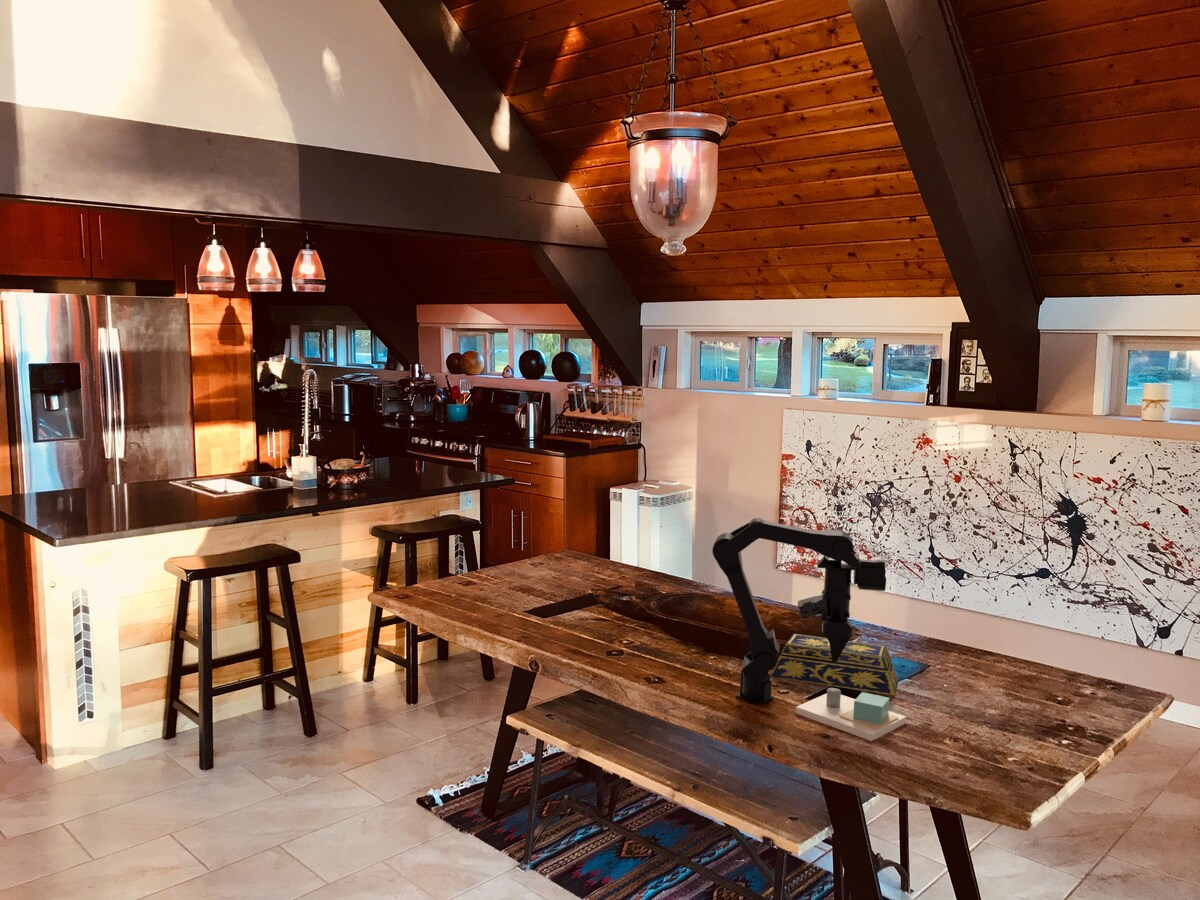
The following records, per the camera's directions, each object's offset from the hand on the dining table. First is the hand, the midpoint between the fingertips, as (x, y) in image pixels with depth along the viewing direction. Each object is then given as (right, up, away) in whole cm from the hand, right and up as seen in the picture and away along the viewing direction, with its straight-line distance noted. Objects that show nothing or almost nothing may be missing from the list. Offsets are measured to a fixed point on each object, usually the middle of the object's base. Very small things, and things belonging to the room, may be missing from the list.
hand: (833, 654), depth 216 cm
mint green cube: (+6, -12, -9) cm, 16 cm away
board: (+2, -13, -6) cm, 14 cm away
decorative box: (+5, -10, +19) cm, 22 cm away
